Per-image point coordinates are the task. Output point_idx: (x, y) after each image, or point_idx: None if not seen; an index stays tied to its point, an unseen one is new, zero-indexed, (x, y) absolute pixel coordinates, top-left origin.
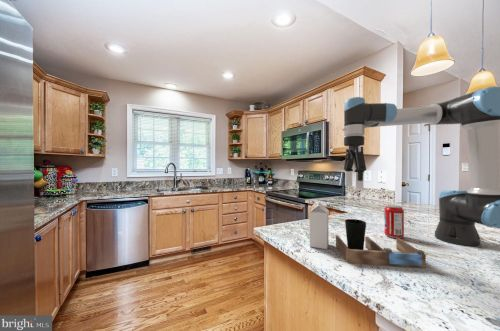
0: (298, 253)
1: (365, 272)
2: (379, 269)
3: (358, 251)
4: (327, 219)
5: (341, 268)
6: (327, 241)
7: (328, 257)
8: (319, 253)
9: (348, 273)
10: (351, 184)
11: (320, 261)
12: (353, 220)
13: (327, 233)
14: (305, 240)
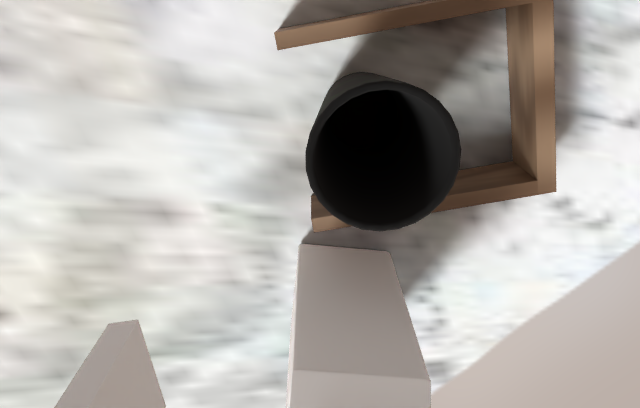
0: (468, 364)
1: (613, 105)
2: (574, 34)
3: (553, 136)
4: (392, 343)
5: (589, 200)
6: (381, 268)
7: (483, 246)
8: (445, 283)
9: (631, 176)
10: (131, 348)
11: (534, 278)
12: (314, 162)
13: (384, 291)
14: (284, 350)
